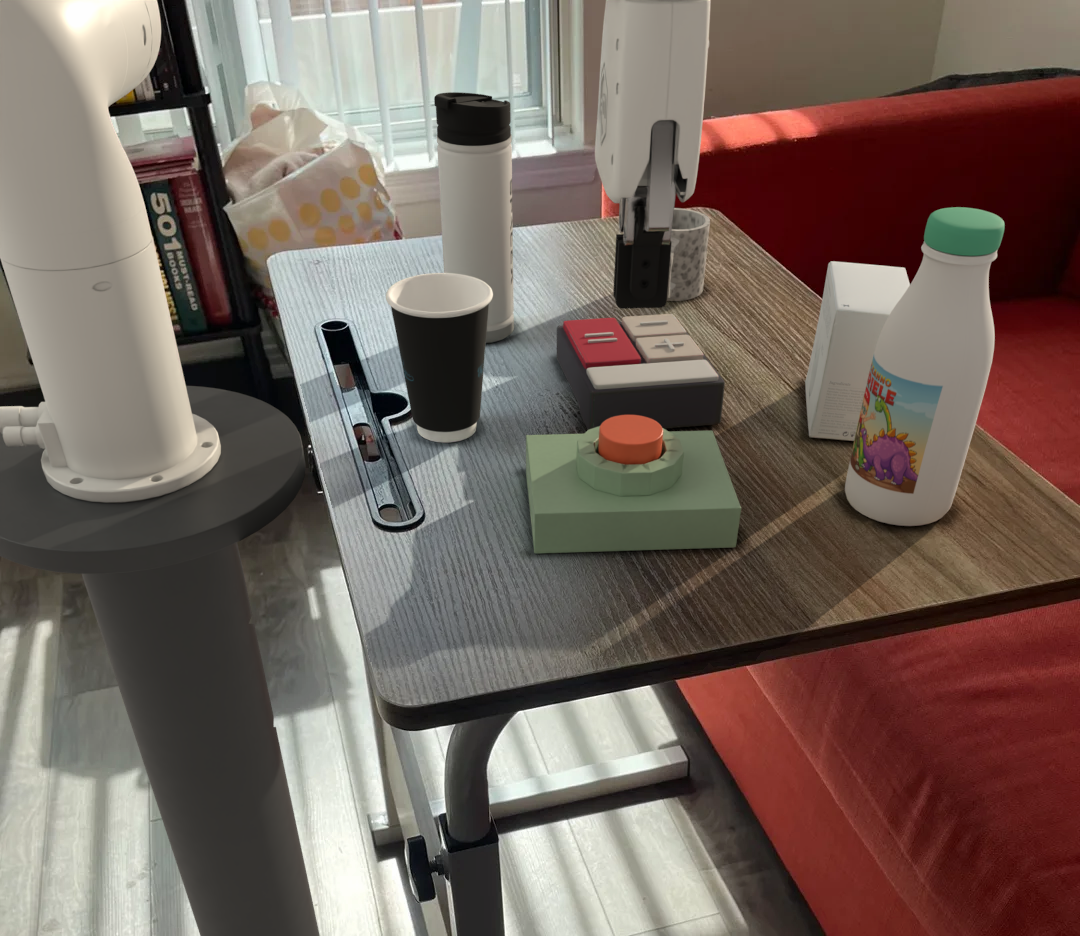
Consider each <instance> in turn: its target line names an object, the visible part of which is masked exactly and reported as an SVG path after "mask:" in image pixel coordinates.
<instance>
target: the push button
mask: <svg viewBox="0 0 1080 936" xmlns="http://www.w3.org/2000/svg"><path fill="white" fill-rule="evenodd" d="M662 439H663V429H662V426H661V425H660V424H659V423H658V422H656V421H655V420H653V419H651V418H648V417H644V416H639V415H619V416H614V417H611V418H609V419H607V420H605V421H604V422H603V423H602V424H601V425H600V428H599V446H598V452H599V454H600V456H601V457H603V458H604V459H606V460H609V461H613V462H617V463H621V464H625V465H631V464H646V463H649V462H651V461H654V460H657V459H659V457H660V456H661V451H662Z"/></svg>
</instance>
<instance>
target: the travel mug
mask: <svg viewBox="0 0 1080 936" xmlns="http://www.w3.org/2000/svg"><path fill="white" fill-rule="evenodd" d="M433 100H434V101H433V102H434V106H435V117H436V118H435V119H436V124H437V126H436V144H437V145H436V146H437V148H436V149H437V168H438V186H439V203H440V205H439V207H440V219H441V220H440V223H441V241H442V261H443V273H453V274H461V275H467V276H471V277H474V278H477V279H480V280H482V281H483V282H485V283H486V284H488V285H489V286H490V288H491V289H492V292H493V297H492V300H491V301H490V303H489V308H488V321H487V333H486V344H491V343H496V342H499V341H502V340H504V339H507V338H508V337H509V336H511V334H512V333H513V332H514V330H515V322H514V321H515V320H514V319H515V318H514V317H515V316H514V310H515V309H514V307H515V306H514V305H515V304H514V302H515V301H514V233H513V232H514V231H513V230H514V229H513V228H514V227H513V226H514V225H513V221H514V220H513V154H512V153H513V151H512V149H513V147H512V146H513V145H512V139H513V138H512V137H513V136H512V127H511V122H512V121H511V120H512V119H511V118H512V117H511V116H512V115H511V114H512V113H511V101H508V100H504V101H502V100H498V99H493V96H492V95H487V94H483V93H473V92H458V91H457V92H456V91H454V92H451V91H450V92H441V93H437V94H435V96H434V98H433Z"/></svg>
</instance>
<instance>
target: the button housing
mask: <svg viewBox="0 0 1080 936" xmlns="http://www.w3.org/2000/svg"><path fill="white" fill-rule="evenodd" d="M599 428H600V426H599V427H595V428H592V429H589V430H588V429H587V431H585V432H584V433H560V434H559V433H558V434H556V433H555V434H553V433H552V434H526V435H525V477H526V485H527V486H526V487H527V495H528V505H529V517H530V525H531V535H532V536H531V537H532V545H533V553H534V554H535V555H536V554H559V553H560V554H563V553H568V554H569V553H599V552H630V551H632V552H633V551H661V550H662V551H663V550H664V551H665V550H666V551H667V550H689V549H690V550H696V549H697V550H698V549H699V550H701V549H726V548H727V549H728V548H729V549H730V548H736V547H737V540H738V533H739V527H740V519H741V515H742V514H741V513H742V506H741V504H740V501H739V498H738V495H737V493H736V490H735V486H734V485H733V482H732V479H731V477H730V474H729V471H728V468H727V466H726V463H725V460H724V457H723V454H722V453H721V449H720V447H719V444H718V441H717V439H716V436H715V433H714V431H713V429H712V430H679V431H678V430H677V431H675V430H674V431H672V430H671V431H668V430H667V429H666V428H665V429H664V428H662V429H663V439H662V451H661V456H660V457H659V459H657V460H654V461H651V462H649V463H646V464H631V465H625V464H621V463H617V462H613V461H609V460H606V459H604V458H603V457H601V456H600V454H599V452H598V446H599Z"/></svg>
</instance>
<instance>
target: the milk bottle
mask: <svg viewBox="0 0 1080 936" xmlns="http://www.w3.org/2000/svg"><path fill="white" fill-rule="evenodd" d="M1005 226H1006V225H1005V221H1004V220H1003V218H1002V217H1000V216H999V215H997V214H995V213H993V212H990V211H987V210H984V209H979V208H973V207H964V206H963V207H961V206H956V207H953V206H951V207H944V208H940V209H937V210H934V211H933V212H931V213H930V214H929V216H928V218H927V222H926V224H925V229H924V235H923V240H924V241H923V243H922V245H921V247H920V249H921V252H922V253H923V256H922V260H921V262H920V266H919V268H918V269H917V272H916V274H915V275H914V278H913V279H912V281H911V283H910V286H909V287H908V289H907V290H906V292H905V293H904V295H903V296H902V297H901V299H900V300H899V302H898V303H897V304H896V306H895V307H894V309H893V310H892V311H891V313H890V315H889V316H888V318H887V320H886V322H885V324H884V326H883V328H882V330H881V333H880V335H879V338H878V341H877V344H876V348H875V352H874V356H873V359H872V363H871V367H870V371H869V376H868V380H867V385H866V389H865V393H864V398H863V402H862V407H861V411H860V416H859V421H858V425H857V430H856V435H855V439H854V441H853V444H852V449H851V454H850V458H849V463H848V467H847V472H846V479H845V484H844V493H845V497H846V499H847V502H848V503H849V505H850V506H851V507H852V508H853V509H854V510H855V511H856V512H859V513H860V514H861V515H863V516H865V517H868V518H869V519H871V520H874V521H877V522H880V523H883V524H884V523H885V524H887V525H895V526H902V527H903V526H904V527H915V526H924V525H929V524H931V523H934V522H937V521H938V520H940V519H943V517H944V516H945V515H946V514H947V513H948V512H949V510H950V509H951V508H952V505H953V502H954V500H955V496H956V493H957V489H958V486H959V483H960V480H961V476H962V473H963V469H964V465H965V463H966V459H967V457H968V456H967V455H968V451H969V448H970V446H971V441H972V438H973V434H974V431H975V429H976V425H977V421H978V417H979V413H980V410H981V406H982V403H983V399H984V395H985V392H986V388H987V385H988V380H989V376H990V372H991V368H992V364H993V360H994V359H993V358H994V351H995V341H996V339H995V337H996V336H995V324H994V317H993V312H992V308H991V307H992V306H991V300H990V288H989V287H990V285H989V284H990V282H989V281H990V280H989V279H990V278H989V277H990V269H991V265H992V262H994V261H996V259H997V258H998V250H999V248H1000V246H1001V243H1002V241H1003V237H1004V233H1005V229H1006V228H1005Z"/></svg>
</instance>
